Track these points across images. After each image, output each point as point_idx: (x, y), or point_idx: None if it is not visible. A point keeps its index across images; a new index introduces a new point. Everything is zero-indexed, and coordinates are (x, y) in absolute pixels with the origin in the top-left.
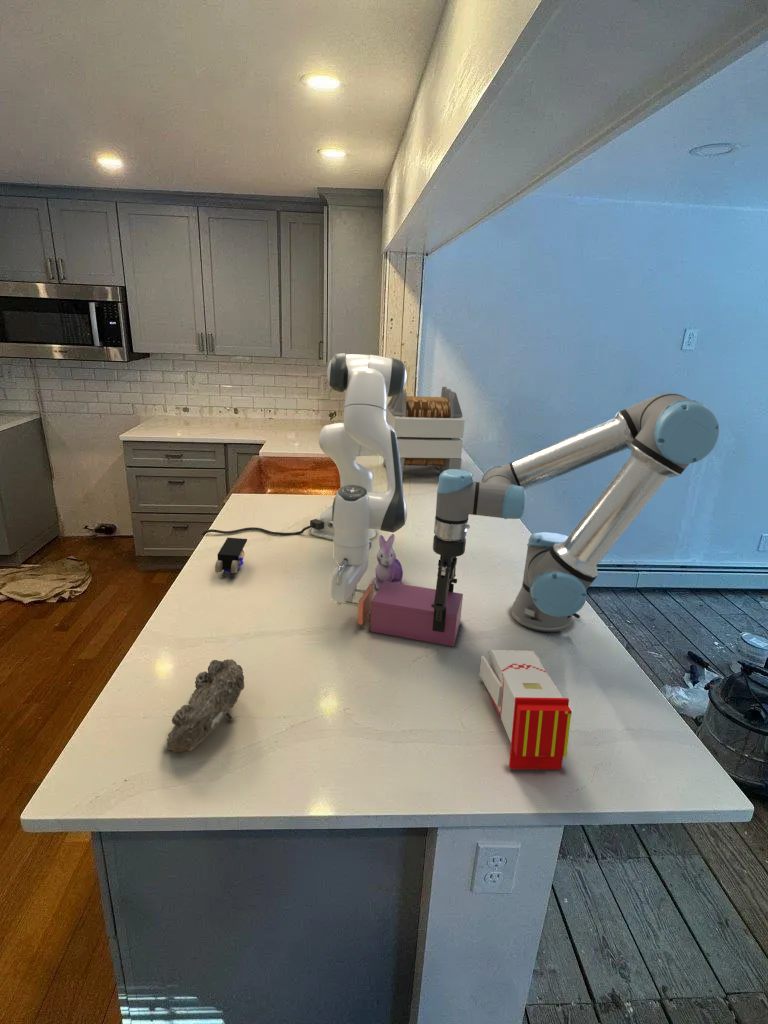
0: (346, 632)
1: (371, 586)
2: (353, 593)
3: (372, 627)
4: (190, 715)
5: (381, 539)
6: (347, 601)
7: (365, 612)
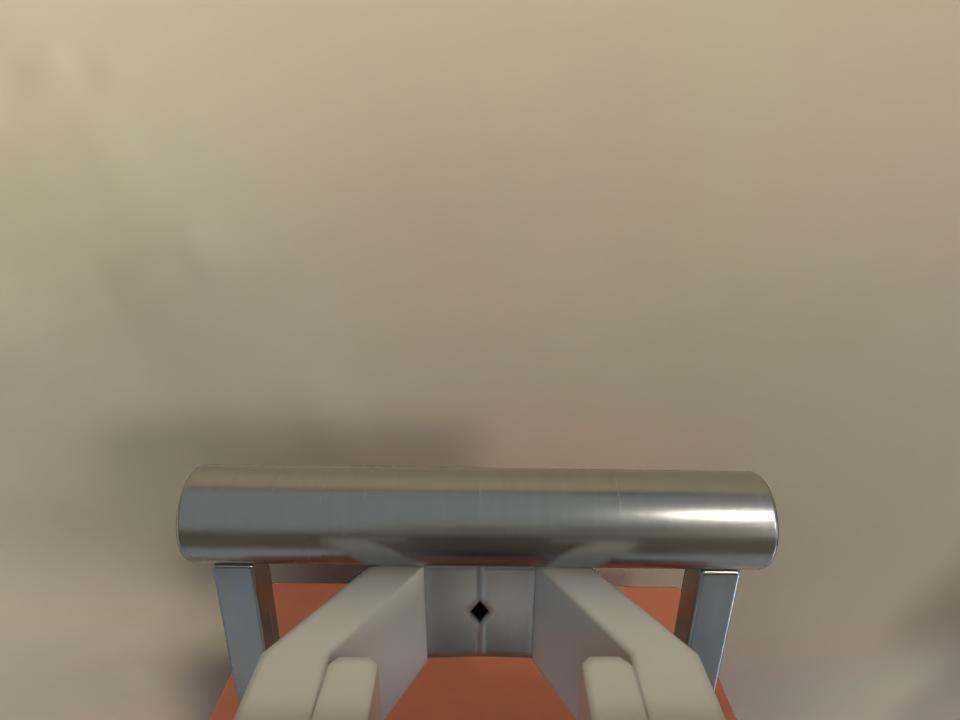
0: (168, 485)
1: None
2: (537, 655)
3: None
4: None
5: None
6: (254, 634)
7: None
